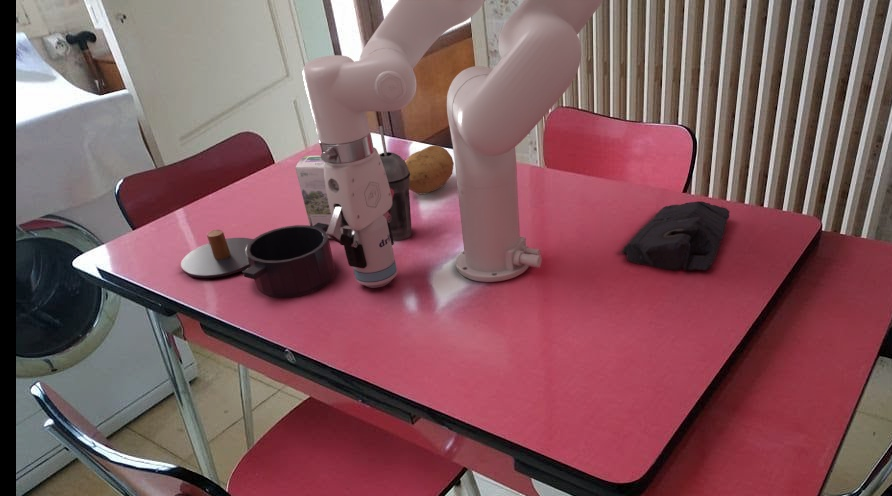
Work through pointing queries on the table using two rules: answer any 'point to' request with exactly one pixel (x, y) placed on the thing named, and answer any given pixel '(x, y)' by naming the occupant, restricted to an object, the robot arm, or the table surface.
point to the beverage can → (376, 255)
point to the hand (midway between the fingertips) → (371, 254)
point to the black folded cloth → (680, 237)
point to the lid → (217, 257)
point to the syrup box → (314, 189)
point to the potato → (429, 169)
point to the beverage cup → (397, 192)
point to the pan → (291, 260)
